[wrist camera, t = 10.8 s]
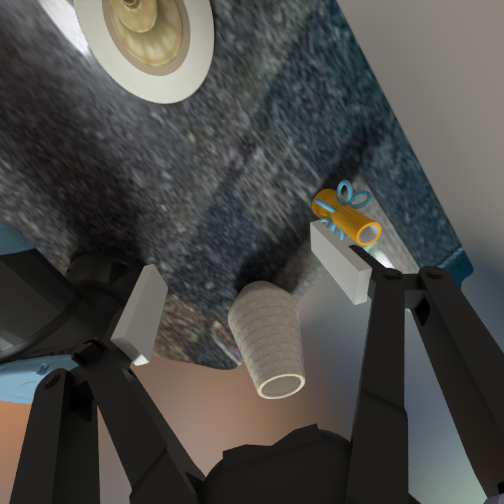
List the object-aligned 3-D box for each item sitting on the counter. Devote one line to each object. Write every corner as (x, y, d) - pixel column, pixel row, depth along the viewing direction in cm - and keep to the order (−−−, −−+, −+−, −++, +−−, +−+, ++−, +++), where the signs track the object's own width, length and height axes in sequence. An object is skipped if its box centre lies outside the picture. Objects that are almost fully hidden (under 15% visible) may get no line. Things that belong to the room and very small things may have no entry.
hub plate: (111, 105, 30) (107, 105, 29) (48, -83, 21) (37, -96, 20) (220, 101, 32) (221, 101, 30) (203, -73, 23) (202, -85, 22)
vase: (268, 322, 63) (293, 411, 43) (215, 309, 56) (217, 407, 37) (301, 281, 55) (347, 366, 36) (245, 261, 49) (265, 351, 30)
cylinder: (303, 175, 40) (343, 199, 27) (352, 169, 41) (413, 190, 28) (299, 230, 47) (330, 270, 34) (342, 224, 48) (387, 261, 35)
